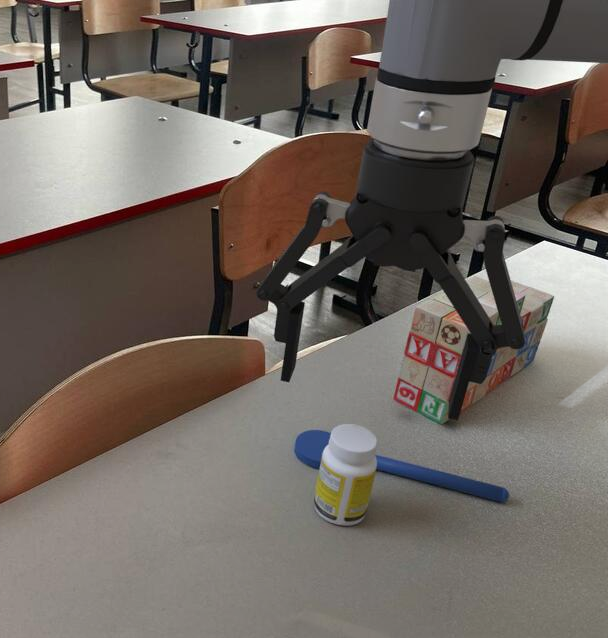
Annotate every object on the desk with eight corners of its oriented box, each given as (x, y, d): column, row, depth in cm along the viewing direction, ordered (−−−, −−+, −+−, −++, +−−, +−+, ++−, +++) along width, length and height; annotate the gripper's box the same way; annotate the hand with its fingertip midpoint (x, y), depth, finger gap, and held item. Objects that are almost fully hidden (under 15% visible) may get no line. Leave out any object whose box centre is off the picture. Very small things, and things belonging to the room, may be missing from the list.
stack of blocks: (486, 341, 98) (513, 254, 92) (534, 362, 94) (565, 273, 88) (391, 399, 86) (415, 304, 80) (441, 426, 82) (470, 328, 76)
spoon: (506, 485, 74) (510, 474, 74) (507, 520, 70) (512, 508, 69) (299, 432, 81) (301, 421, 80) (289, 461, 76) (291, 450, 76)
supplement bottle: (365, 497, 72) (382, 426, 68) (365, 532, 68) (383, 459, 64) (314, 487, 73) (328, 416, 69) (310, 520, 69) (325, 448, 65)
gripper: (234, 136, 55) (213, 381, 65) (628, 185, 47) (532, 455, 57) (259, 112, 61) (235, 339, 71) (611, 152, 53) (526, 401, 63)
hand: (367, 391), depth 64 cm, fingers open, 13 cm apart
